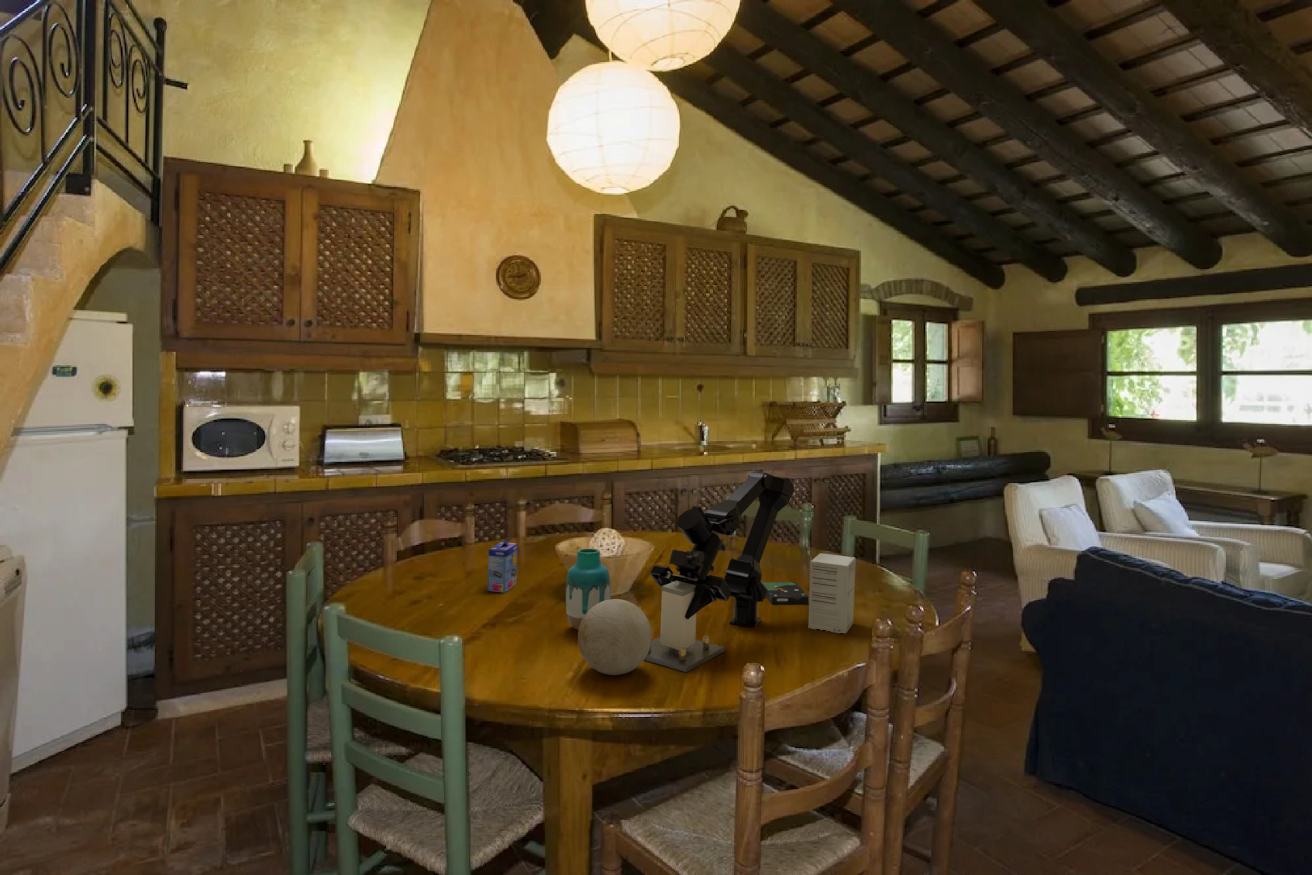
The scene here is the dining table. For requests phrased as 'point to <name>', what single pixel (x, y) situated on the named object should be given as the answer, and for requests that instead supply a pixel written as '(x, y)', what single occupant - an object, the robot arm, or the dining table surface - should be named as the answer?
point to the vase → (586, 585)
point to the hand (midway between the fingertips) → (674, 615)
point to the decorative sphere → (614, 637)
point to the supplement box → (831, 593)
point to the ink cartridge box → (502, 566)
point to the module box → (677, 615)
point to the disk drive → (785, 593)
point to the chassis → (683, 654)
